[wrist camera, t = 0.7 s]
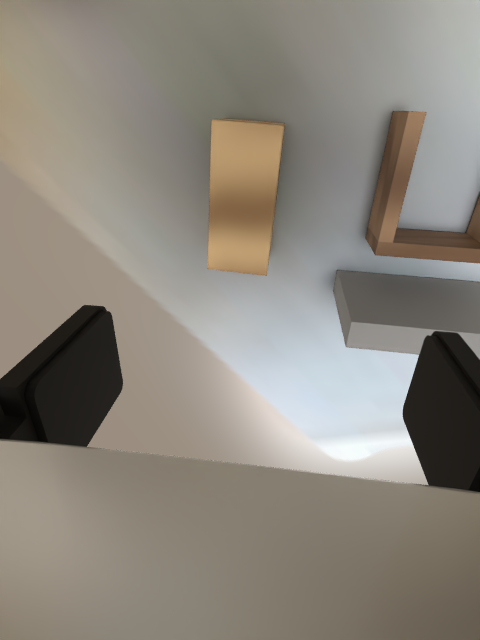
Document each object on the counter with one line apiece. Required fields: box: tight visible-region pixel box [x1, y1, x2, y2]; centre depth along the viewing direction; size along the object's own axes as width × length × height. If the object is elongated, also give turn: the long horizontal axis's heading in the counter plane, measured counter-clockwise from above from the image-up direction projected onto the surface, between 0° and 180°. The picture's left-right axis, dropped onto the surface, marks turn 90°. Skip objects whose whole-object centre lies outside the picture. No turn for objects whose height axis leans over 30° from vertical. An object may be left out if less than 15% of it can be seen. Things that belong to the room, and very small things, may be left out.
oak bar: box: [208, 119, 285, 276], centre depth 27 cm, size 10×4×5 cm, turn 176°
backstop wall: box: [333, 270, 480, 359], centre depth 28 cm, size 2×12×9 cm, turn 88°
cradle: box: [366, 111, 480, 263], centre depth 25 cm, size 9×8×4 cm
